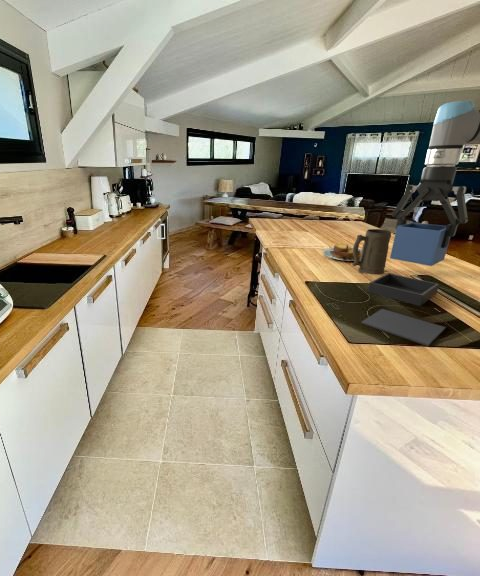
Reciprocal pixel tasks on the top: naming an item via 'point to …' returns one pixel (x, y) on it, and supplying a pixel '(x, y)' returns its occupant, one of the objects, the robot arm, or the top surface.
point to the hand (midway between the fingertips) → (420, 243)
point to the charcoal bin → (403, 288)
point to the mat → (405, 326)
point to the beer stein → (372, 251)
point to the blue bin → (419, 243)
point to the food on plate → (342, 252)
